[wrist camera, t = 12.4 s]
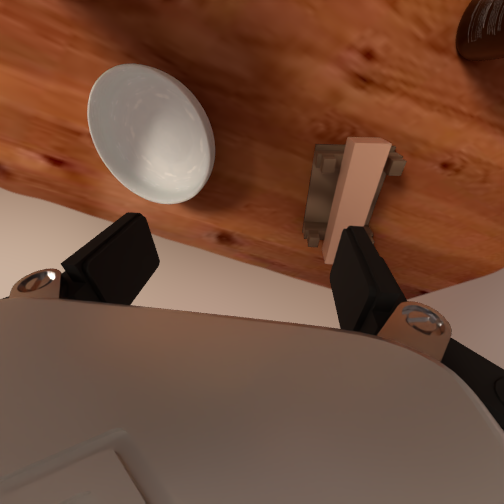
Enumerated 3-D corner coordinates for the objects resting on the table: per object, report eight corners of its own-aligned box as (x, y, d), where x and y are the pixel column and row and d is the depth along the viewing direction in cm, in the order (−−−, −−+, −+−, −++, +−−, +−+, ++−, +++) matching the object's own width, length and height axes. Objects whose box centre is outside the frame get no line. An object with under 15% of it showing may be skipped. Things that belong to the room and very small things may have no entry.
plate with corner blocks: (315, 144, 33) (320, 153, 28) (393, 145, 32) (413, 156, 27) (302, 230, 42) (304, 249, 37) (362, 234, 41) (373, 254, 36)
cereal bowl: (96, 94, 33) (56, 95, 27) (193, 45, 28) (169, 34, 22) (157, 198, 42) (137, 215, 36) (238, 174, 37) (229, 190, 32)
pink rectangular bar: (347, 137, 28) (355, 142, 25) (380, 137, 28) (391, 143, 25) (321, 249, 39) (324, 263, 36) (345, 251, 39) (350, 265, 36)
